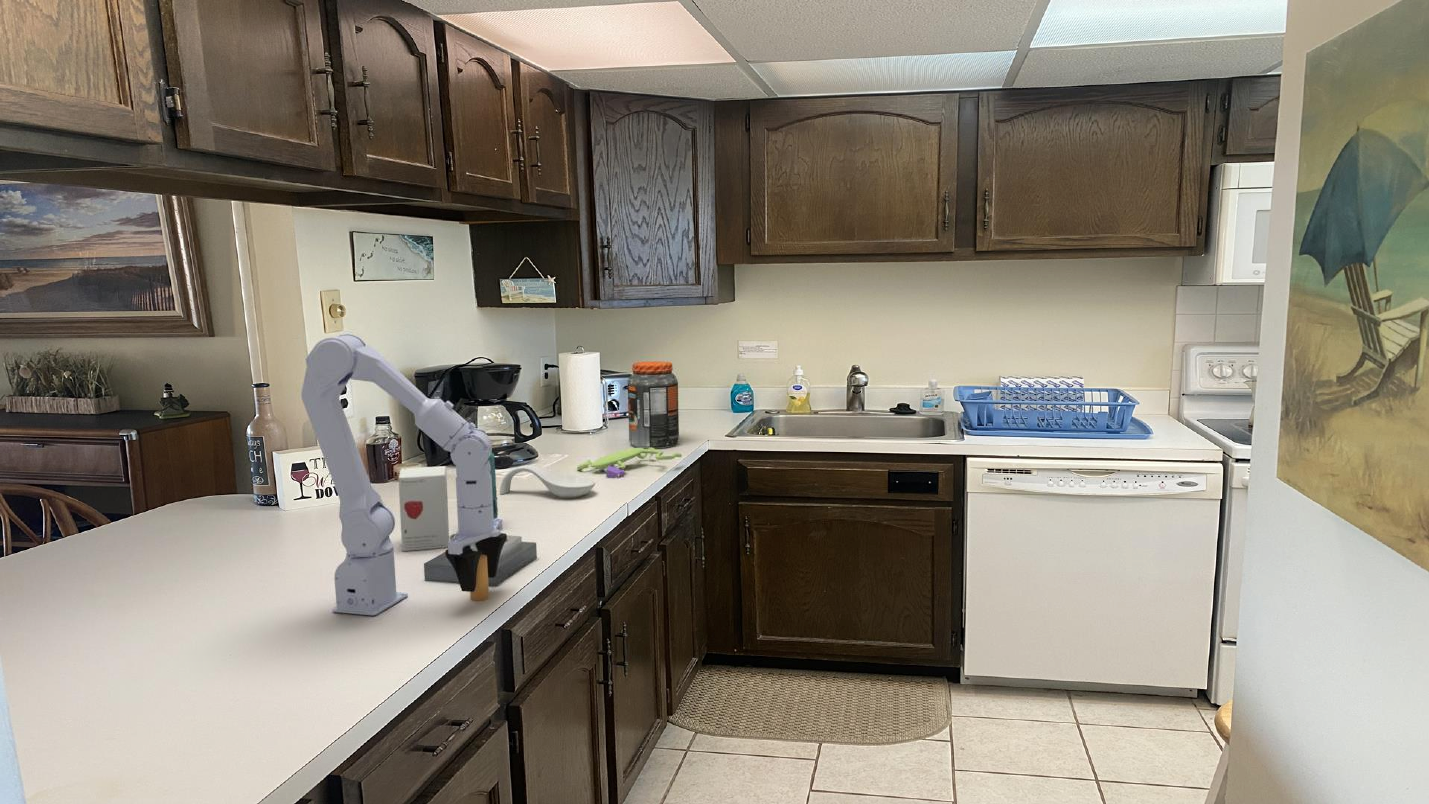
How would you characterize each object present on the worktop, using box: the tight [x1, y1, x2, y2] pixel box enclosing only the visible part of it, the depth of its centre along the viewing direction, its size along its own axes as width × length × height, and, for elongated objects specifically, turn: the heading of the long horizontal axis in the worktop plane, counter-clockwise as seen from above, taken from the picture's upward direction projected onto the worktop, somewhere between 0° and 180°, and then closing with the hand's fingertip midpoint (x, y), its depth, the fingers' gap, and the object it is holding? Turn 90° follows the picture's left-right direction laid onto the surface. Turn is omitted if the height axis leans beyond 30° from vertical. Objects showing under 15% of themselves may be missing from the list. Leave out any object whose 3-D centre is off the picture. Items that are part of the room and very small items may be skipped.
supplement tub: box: [627, 361, 680, 450], centre depth 285 cm, size 16×16×26 cm
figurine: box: [576, 447, 683, 478], centre depth 251 cm, size 18×27×6 cm
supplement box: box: [398, 465, 450, 552], centre depth 182 cm, size 9×9×15 cm
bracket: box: [470, 534, 523, 561], centre depth 166 cm, size 10×7×2 cm
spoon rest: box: [499, 464, 596, 499], centre depth 223 cm, size 24×12×7 cm, turn 80°
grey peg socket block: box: [423, 533, 538, 587], centre depth 167 cm, size 16×14×6 cm
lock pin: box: [469, 554, 490, 602], centre depth 151 cm, size 3×3×7 cm
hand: (479, 583), depth 152 cm, fingers open, 6 cm apart
